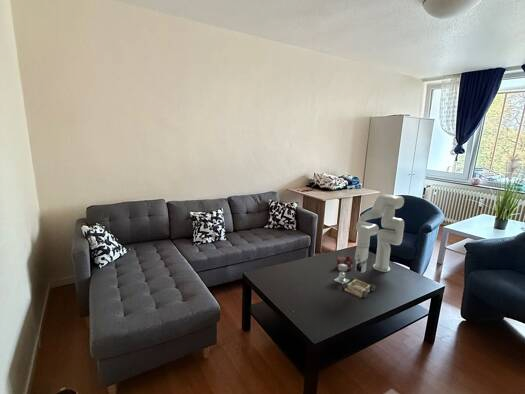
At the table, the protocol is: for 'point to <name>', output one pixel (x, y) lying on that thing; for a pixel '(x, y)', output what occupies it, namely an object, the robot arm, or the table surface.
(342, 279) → the grey square pedestal base
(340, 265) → the wheel hub
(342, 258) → the toy fire truck
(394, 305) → the table surface
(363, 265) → the block
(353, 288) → the birch chassis
